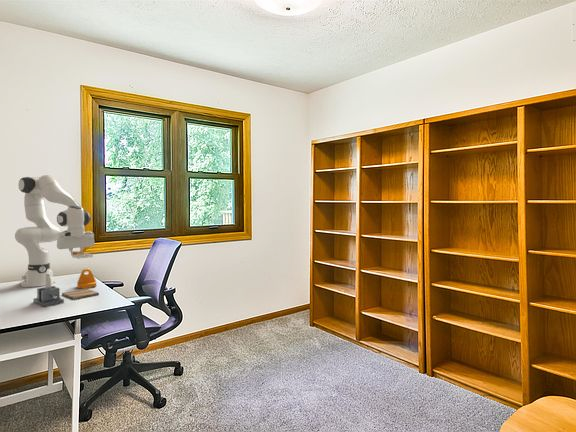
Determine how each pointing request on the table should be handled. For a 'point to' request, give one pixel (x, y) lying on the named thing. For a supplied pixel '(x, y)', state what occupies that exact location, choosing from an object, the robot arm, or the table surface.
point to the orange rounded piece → (86, 280)
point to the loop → (81, 255)
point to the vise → (48, 294)
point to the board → (80, 294)
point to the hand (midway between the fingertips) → (76, 255)
